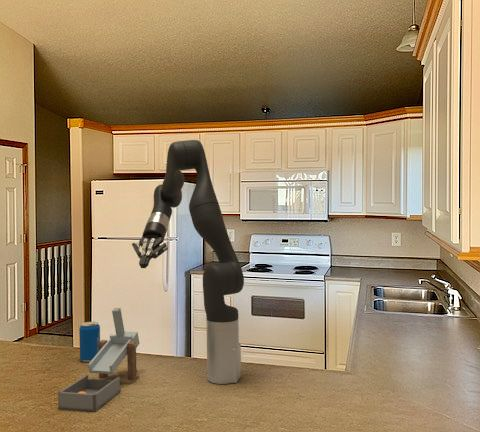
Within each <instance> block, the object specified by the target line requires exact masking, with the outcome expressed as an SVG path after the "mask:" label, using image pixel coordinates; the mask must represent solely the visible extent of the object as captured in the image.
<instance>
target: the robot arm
mask: <svg viewBox="0 0 480 432" xmlns="http://www.w3.org/2000/svg"><path fill="white" fill-rule="evenodd" d="M166 155H167V157H166V164H165V165H166V167H165V168H166V169H165V176H164V177H163V181H162V183H161V184H158V185H157V186H156V187H155V188H154V191H153V207H152V210H151V212H150V213H151V214H150V215H149V217H148V219H147V221H146V224H145V227H144V230H143V232H142V237H141V238H140V239H139V241H138V242H136V243H135V242H133V243H132V244H131V246H132V248H133V250H134V253H136V255H137V257H138V258H139V262H138V265H139V267H140V268H141V269H147V267H148V266H149V265H150V261H151V260H152V259H155V260H156V259H157V258H158V257H160V256H161V255H163V254H164V253H165V252H166V251H168V249H169V247H168V245H167V242H164V240H165V237H166V234H167V231H168V229H169V224H170V220H171V217H172V214H173V209H174V208H177V207H179V205H181V203H182V200H183V191H182V189H183V186H184V184H185V175H184V173H183V172H182V171H188V170H195V172H196V177H197V178H196V182H195V183H196V184H195V186H194V189H193V192H192V194H191V197H190V200H189V204H188V211H189V215H190V218H191V221H192V224H193V228H194V230H195V231H196V233H197V234H199V236H200V237H201V239H203V240H204V241H205V242H206V244H208V245H209V246H210V248H211V249H212V250H213V252H214V254H215V255H216V258H217V261H218V262H217V263H211V264H208V265H206V267H205V268H204V270H203V273H202V292H203V306H204V311H205V314H206V315H205V316H206V318H205V319H206V366H207V367H206V370H207V371H206V374H207V375H206V376H207V378H206V379H207V381H208V382H210V383H213V384H217V385H218V384H219V385H226V384H235V383H236V384H237V383H238V382H239V380H240V378H241V377H242V351H241V350H242V347H241V345H242V344H241V343H240V339H239V337H240V334H239V331H240V330H239V329H240V328H239V309H238V308H237V307H235V306H231V305H228V304H226V302H225V296H229V295H235V294H238V293H241V291H242V290H243V289H244V286H245V285H244V284H245V278H244V277H245V275H244V273H243V268H242V266H241V264H240V261H239V259H238V257H237V254H236V252H235V250H234V247H233V245H232V242H231V239H230V236H229V234H228V231H227V227H226V224H225V221H224V217H223V213H222V211H221V207H220V204H219V201H218V198H217V194H216V191H215V189H214V185H213V182H212V178H211V175H210V169H209V165H208V160H207V157H206V152H205V149H204V146H203V144H202V143H201V141H200V140H198V139H189V140H188V139H187V140H179V141H174V142H171V143H170V144H169V147H168V149H167V154H166ZM172 208H173V209H172ZM140 249H141V251H140Z"/></svg>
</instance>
